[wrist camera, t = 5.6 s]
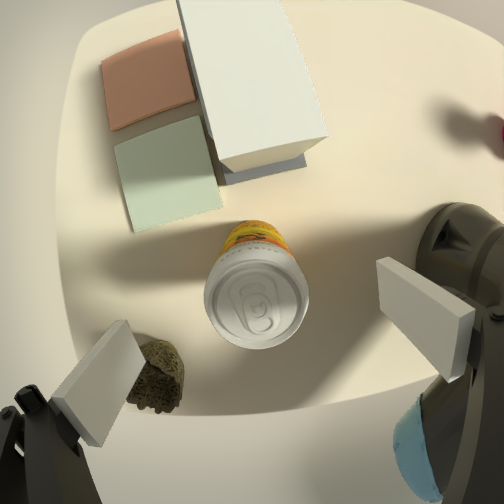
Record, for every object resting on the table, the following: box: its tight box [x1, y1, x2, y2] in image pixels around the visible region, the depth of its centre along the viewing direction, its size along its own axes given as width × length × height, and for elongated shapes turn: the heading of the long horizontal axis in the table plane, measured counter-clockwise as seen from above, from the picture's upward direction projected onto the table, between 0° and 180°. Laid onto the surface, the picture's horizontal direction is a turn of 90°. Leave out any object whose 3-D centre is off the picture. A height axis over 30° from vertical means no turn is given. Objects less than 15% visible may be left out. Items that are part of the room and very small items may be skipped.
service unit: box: [176, 0, 329, 186], centre depth 19 cm, size 18×8×14 cm, turn 14°
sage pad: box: [113, 115, 224, 233], centre depth 27 cm, size 10×10×1 cm
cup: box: [126, 341, 184, 414], centre depth 28 cm, size 8×7×8 cm
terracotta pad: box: [101, 29, 196, 131], centre depth 24 cm, size 10×10×1 cm
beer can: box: [204, 220, 309, 349], centre depth 22 cm, size 6×6×15 cm
